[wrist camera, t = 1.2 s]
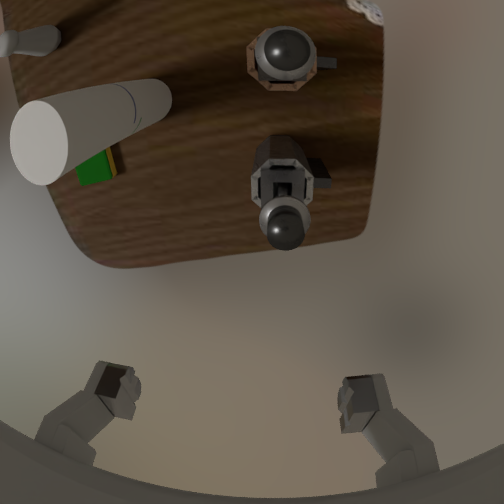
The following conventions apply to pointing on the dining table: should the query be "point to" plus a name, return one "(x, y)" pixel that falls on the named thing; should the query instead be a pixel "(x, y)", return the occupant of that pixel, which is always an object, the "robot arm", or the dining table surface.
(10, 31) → the salt shaker
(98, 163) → the dish sponge
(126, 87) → the cylindrical container
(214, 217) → the dining table surface
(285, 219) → the steel press plunger
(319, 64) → the copper press carafe
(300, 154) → the steel press carafe
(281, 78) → the copper press plunger
